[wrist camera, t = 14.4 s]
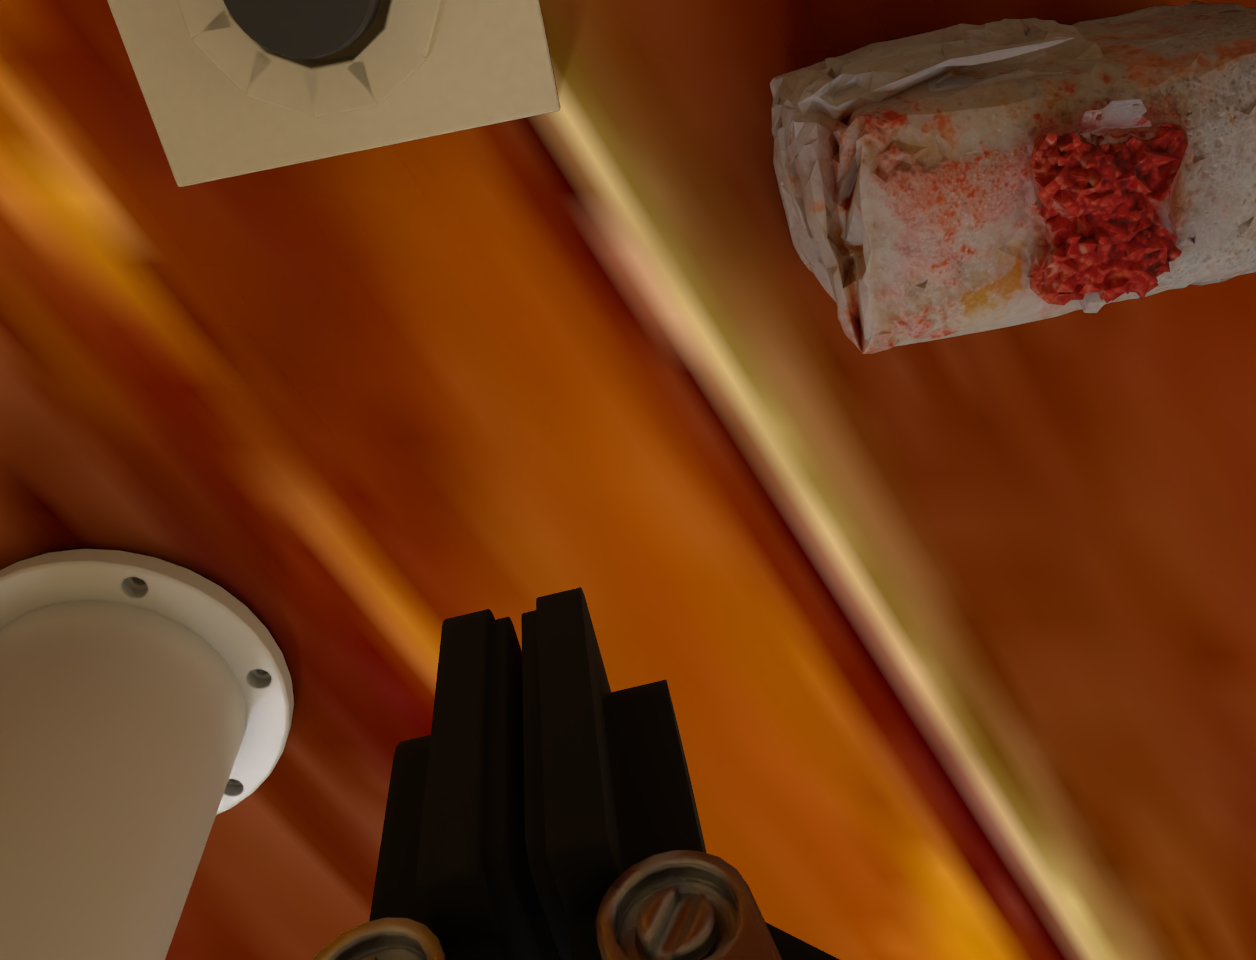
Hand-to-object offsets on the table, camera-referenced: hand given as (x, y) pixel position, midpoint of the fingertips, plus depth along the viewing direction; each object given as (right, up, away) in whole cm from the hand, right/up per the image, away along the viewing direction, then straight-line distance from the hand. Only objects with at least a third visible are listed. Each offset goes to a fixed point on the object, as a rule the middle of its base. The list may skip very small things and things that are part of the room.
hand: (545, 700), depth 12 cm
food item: (+12, +14, +20) cm, 27 cm away
